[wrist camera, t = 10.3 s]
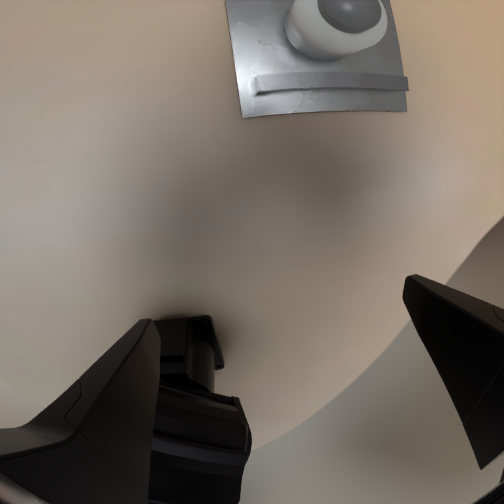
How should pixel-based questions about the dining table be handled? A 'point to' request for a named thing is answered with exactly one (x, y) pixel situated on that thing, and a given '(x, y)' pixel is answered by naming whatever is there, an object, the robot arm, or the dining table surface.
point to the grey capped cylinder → (334, 27)
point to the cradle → (308, 67)
